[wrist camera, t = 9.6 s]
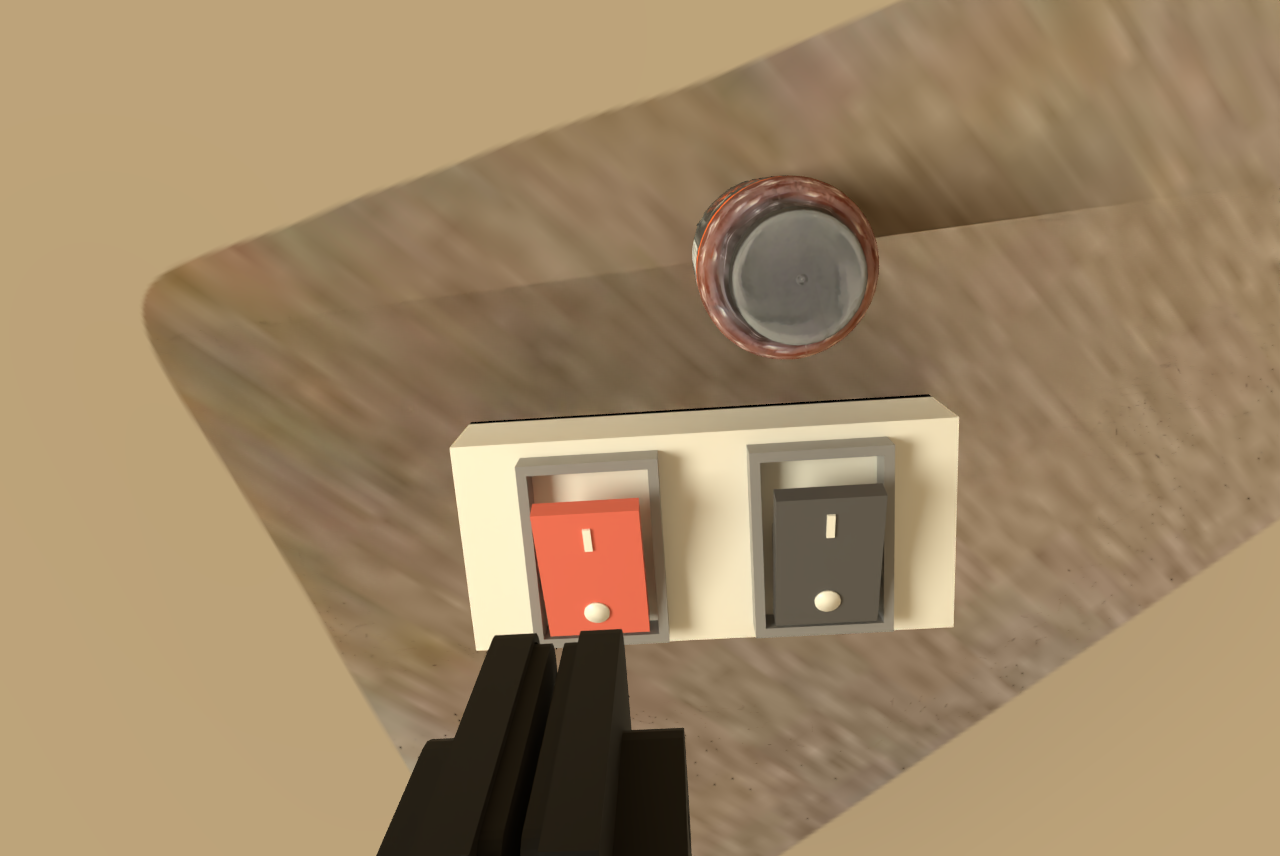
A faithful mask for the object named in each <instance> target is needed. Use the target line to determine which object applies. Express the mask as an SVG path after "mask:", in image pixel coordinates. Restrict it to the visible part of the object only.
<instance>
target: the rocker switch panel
mask: <svg viewBox="0 0 1280 856" xmlns="http://www.w3.org/2000/svg"><path fill="white" fill-rule="evenodd" d="M958 436H959V417H958V416H957V415H955V414H954V413H953V412H952V411H950V410H949V409H948V408H946V407H945V406H944V405H942V404H941V403H940V402H938V401H937V400H936V399H934V398H933V397H932V396H931V395H929V394H922V395H906V396H890V397H873V398H857V399H840V400H824V401H808V402H791V403H775V404H759V405H742V406H726V407H710V408H693V409H677V410H660V411H644V412H628V413H611V414H595V415H579V416H562V417H546V418H530V419H513V420H497V421H480V422H471V423H470V424H469V425H468V426H467V428H466V429H465V430H464V431H463V432H462V434H461V435H460V436H459V437H458V438H457V439H456V441H455V442H454V443H453V444H452V445H451V447H450V455H451V462H452V470H453V478H454V485H455V493H456V500H457V508H458V515H459V523H460V531H461V538H462V546H463V553H464V561H465V568H466V576H467V584H468V591H469V599H470V606H471V614H472V621H473V629H474V637H475V644H476V651H478V650H488V649H489V647H490V644H491V642H492V639H493V637H494V636H495V635H509V634H529V633H537V635H538V637H539V641H540V644H550V643H553V645H554V648H563V647H564V643H570V642H578V639H579V635H571V636H550V630H549V624H548V619H547V613H546V607H545V601H544V596H543V590H542V584H541V578H540V573H539V567H538V561H537V555H536V550H535V544H534V538H533V532H532V527H531V521H530V513H531V508H532V504H538V503H555V502H573V501H591V500H608V499H626V498H639V505H640V516H641V527H642V538H643V549H644V560H645V571H646V581H647V592H648V603H649V614H650V632H631V633H623V637H624V645H628V644H648V643H669V642H670V641H681V640H701V639H721V638H742V637H756V638H770V637H790V636H811V635H831V634H851V633H872V632H892V631H894V630H904V629H924V628H944V627H953V625H954V587H955V549H956V512H957V474H958ZM876 483H883V485H884V488H885V490H886V493H887V495H888V498H887V510H886V522H885V534H884V546H883V558H882V570H881V582H880V594H879V606H878V619H877V621H862V622H842V623H821V624H801V625H781V626H776V625H775V620H774V614H773V550H772V523H773V489H788V488H806V487H823V486H841V485H858V484H876Z"/></svg>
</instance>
